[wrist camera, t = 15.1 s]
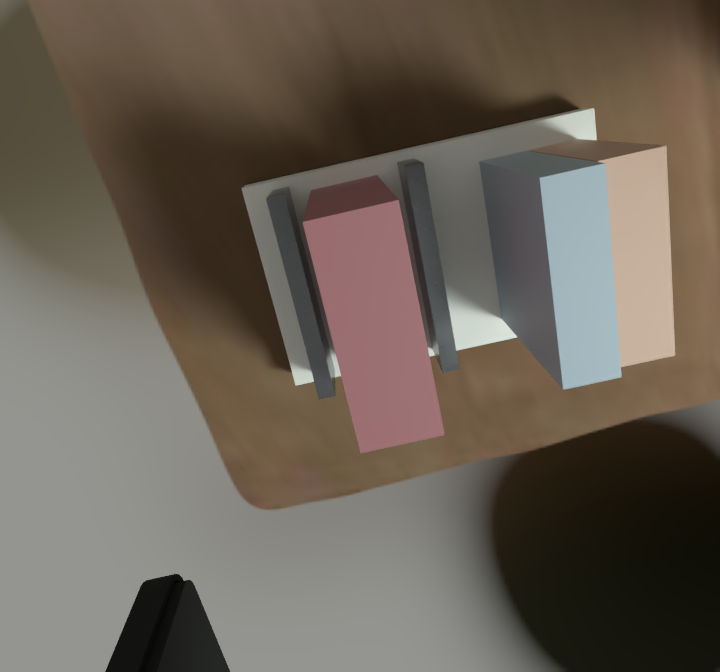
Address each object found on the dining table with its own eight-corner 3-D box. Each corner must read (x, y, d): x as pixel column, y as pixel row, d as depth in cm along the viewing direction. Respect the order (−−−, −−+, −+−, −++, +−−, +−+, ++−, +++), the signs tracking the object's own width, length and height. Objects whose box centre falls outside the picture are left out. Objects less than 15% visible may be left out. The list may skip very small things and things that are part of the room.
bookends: (413, 158, 36) (423, 162, 32) (447, 345, 40) (459, 368, 36) (272, 190, 36) (265, 198, 32) (320, 373, 40) (318, 399, 36)
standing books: (577, 139, 36) (678, 146, 25) (592, 298, 39) (686, 363, 29) (479, 161, 36) (539, 177, 26) (501, 318, 39) (563, 389, 29)
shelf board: (580, 108, 37) (594, 107, 35) (597, 308, 42) (610, 317, 40) (245, 184, 38) (241, 188, 36) (297, 373, 42) (295, 385, 40)
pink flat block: (376, 174, 36) (398, 199, 25) (411, 345, 40) (444, 434, 28) (310, 190, 36) (302, 222, 25) (351, 358, 40) (360, 453, 28)
